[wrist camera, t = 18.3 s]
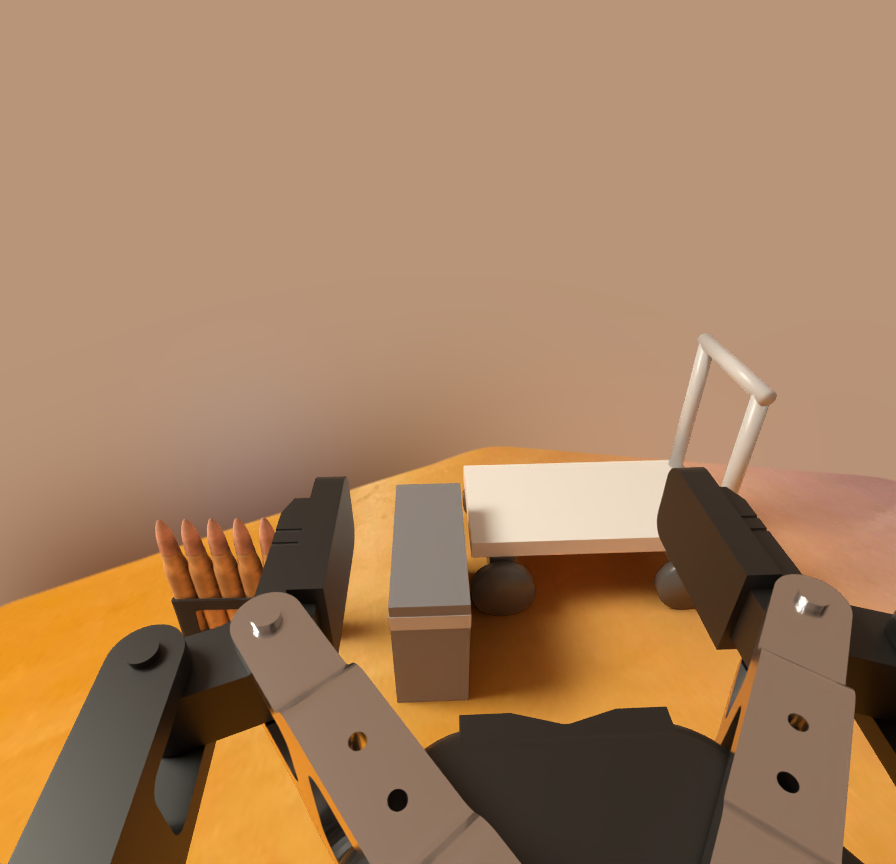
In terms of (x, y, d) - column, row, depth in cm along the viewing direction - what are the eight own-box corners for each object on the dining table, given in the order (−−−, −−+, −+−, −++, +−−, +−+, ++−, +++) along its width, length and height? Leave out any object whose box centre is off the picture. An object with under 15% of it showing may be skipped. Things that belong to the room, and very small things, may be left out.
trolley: (659, 509, 56) (707, 326, 45) (713, 608, 46) (792, 400, 35) (462, 515, 55) (464, 331, 45) (471, 616, 45) (476, 408, 34)
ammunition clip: (185, 645, 43) (137, 529, 36) (194, 625, 44) (150, 511, 38) (323, 641, 43) (300, 526, 37) (327, 622, 45) (306, 508, 38)
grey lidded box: (459, 571, 49) (460, 482, 44) (469, 700, 39) (471, 605, 34) (402, 573, 49) (395, 484, 44) (396, 703, 39) (387, 608, 33)
